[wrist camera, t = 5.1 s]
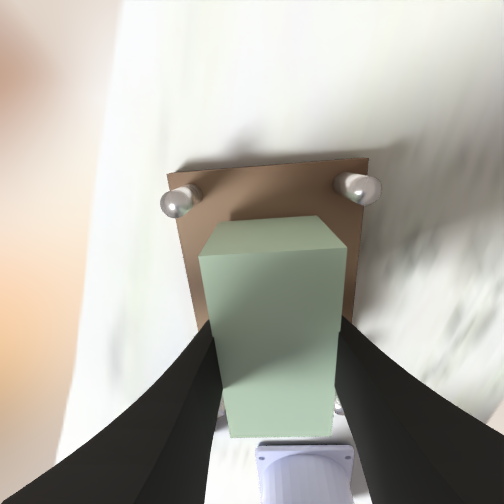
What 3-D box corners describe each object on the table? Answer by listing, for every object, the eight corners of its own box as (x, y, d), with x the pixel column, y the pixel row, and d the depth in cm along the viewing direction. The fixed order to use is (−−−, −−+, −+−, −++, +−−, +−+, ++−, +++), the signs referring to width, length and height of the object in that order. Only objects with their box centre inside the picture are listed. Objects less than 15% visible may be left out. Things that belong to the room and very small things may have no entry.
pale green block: (312, 362, 14) (331, 436, 10) (237, 364, 14) (230, 437, 11) (317, 215, 11) (347, 247, 7) (219, 221, 11) (198, 256, 7)
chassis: (340, 368, 16) (360, 420, 13) (211, 371, 17) (200, 423, 13) (359, 157, 11) (400, 158, 8) (173, 172, 12) (140, 178, 8)
